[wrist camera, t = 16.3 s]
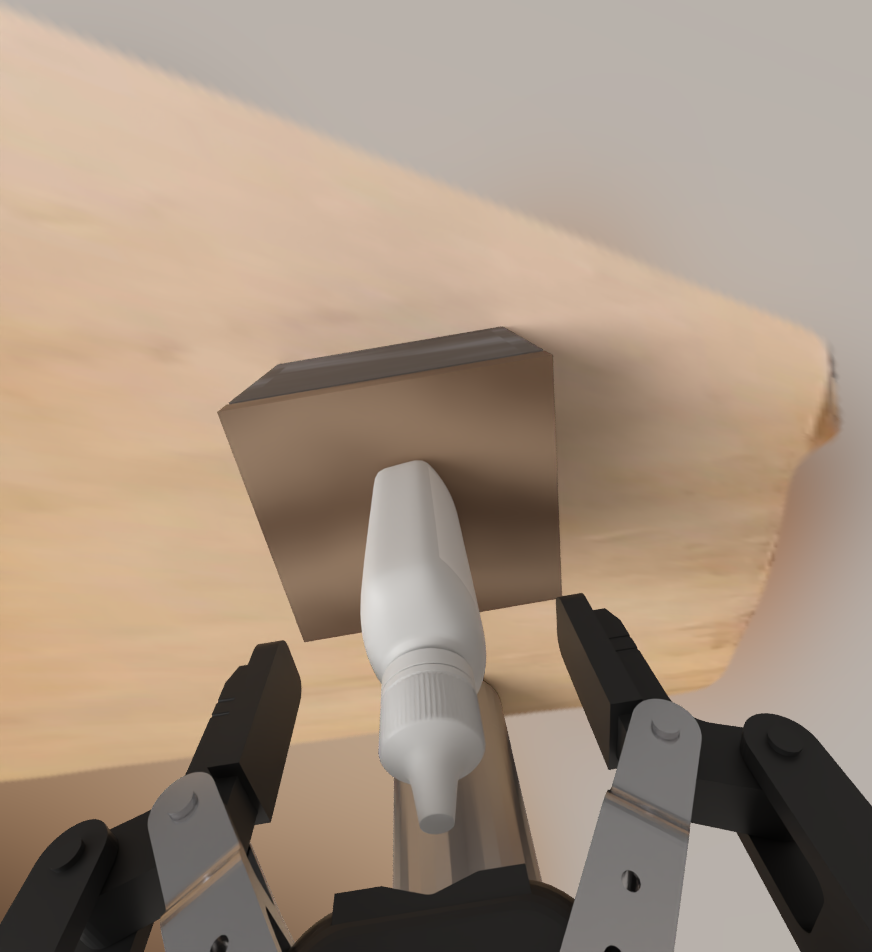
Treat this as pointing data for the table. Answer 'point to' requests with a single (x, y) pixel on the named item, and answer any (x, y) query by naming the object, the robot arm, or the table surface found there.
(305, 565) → the lid
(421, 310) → the table surface
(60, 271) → the table surface
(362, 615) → the eye dropper bottle
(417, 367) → the box
